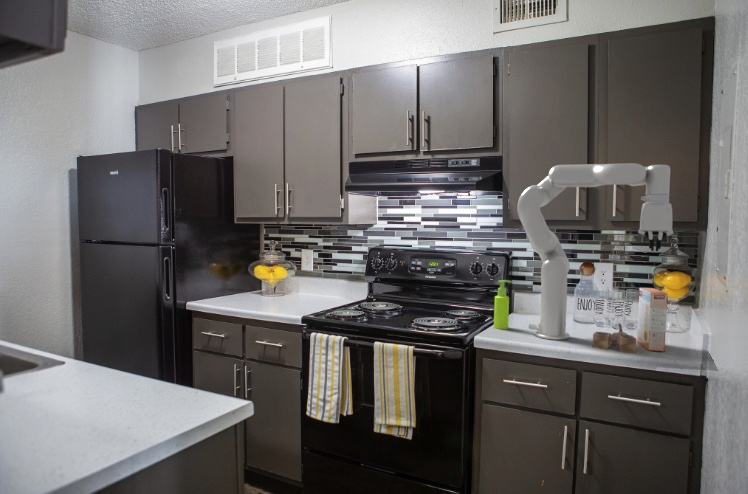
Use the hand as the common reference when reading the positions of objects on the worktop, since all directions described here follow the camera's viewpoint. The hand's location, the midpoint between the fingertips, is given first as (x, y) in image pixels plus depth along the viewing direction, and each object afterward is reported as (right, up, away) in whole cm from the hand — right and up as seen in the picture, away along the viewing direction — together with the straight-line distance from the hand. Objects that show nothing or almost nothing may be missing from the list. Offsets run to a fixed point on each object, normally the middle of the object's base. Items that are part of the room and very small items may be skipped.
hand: (654, 250), depth 193 cm
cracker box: (0, -35, +2) cm, 35 cm away
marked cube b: (-19, -35, +1) cm, 40 cm away
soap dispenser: (-47, -33, +32) cm, 66 cm away
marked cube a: (-12, -35, -3) cm, 37 cm away
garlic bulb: (-10, -35, +6) cm, 37 cm away
